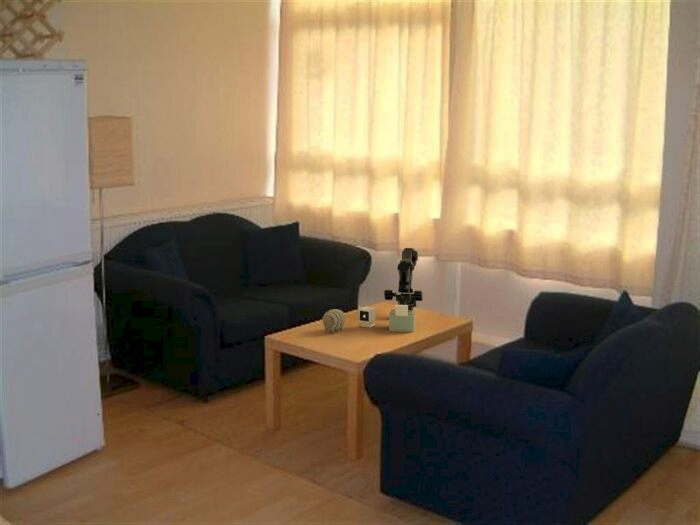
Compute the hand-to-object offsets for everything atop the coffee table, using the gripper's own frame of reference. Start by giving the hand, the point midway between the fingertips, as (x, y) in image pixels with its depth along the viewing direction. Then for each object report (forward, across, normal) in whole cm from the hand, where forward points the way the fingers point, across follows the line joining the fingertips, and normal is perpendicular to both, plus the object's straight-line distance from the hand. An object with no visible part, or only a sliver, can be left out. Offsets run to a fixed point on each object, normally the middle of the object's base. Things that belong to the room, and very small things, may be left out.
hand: (402, 309), depth 404 cm
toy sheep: (+11, +33, -5) cm, 35 cm away
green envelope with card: (+9, 0, -5) cm, 10 cm away
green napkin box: (+7, 0, -9) cm, 11 cm away
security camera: (+4, +18, -11) cm, 21 cm away
